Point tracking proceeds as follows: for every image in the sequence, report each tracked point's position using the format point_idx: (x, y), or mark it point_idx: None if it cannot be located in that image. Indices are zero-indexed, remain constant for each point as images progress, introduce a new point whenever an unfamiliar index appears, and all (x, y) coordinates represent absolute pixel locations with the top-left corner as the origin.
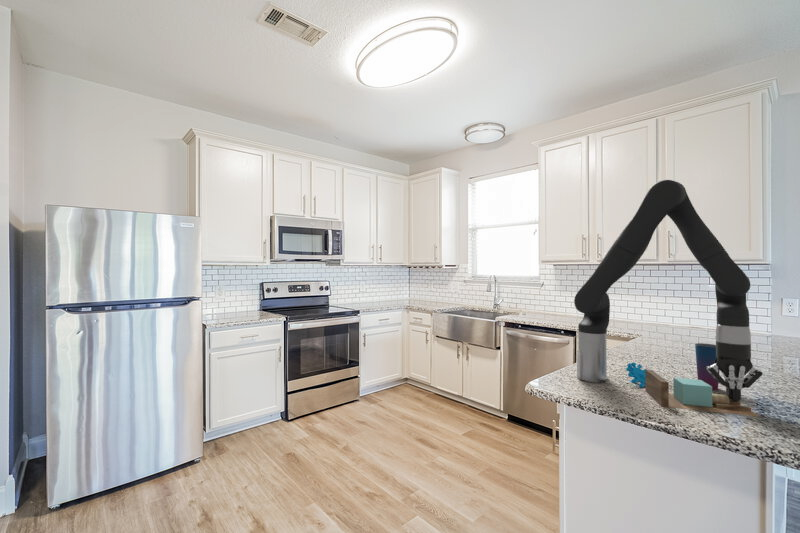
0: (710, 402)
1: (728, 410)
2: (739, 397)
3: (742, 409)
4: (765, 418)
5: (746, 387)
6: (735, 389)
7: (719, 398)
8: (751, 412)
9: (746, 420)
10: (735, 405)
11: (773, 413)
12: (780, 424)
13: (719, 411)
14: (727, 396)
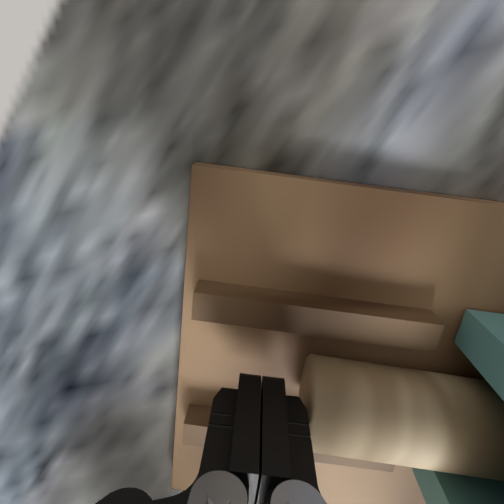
0: (501, 332)
1: (368, 271)
2: (223, 407)
3: (254, 291)
4: (146, 208)
5: (140, 492)
6: (258, 476)
7: (392, 394)
8: (208, 261)
9: (331, 124)
10: (287, 329)
11: (32, 324)
12: (109, 88)
13: (473, 228)
14: (318, 419)
